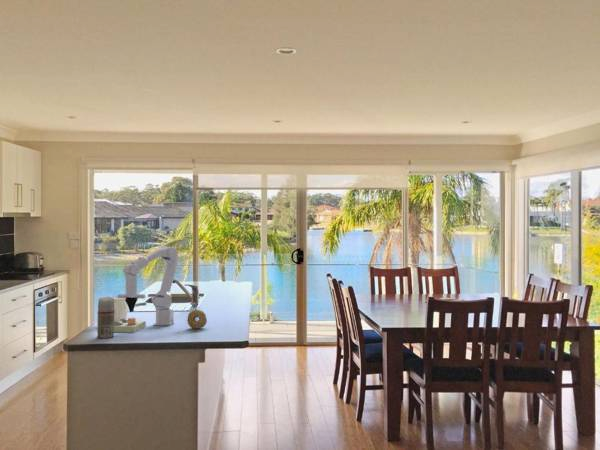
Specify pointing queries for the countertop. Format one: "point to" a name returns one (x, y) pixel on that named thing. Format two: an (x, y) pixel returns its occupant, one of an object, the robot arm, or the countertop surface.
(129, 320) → the terracotta plug
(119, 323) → the grey plug
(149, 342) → the countertop surface
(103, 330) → the spray can
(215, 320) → the countertop surface
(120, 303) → the jar
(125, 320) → the grey plug
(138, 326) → the socket board
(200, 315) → the mottled brown donut
